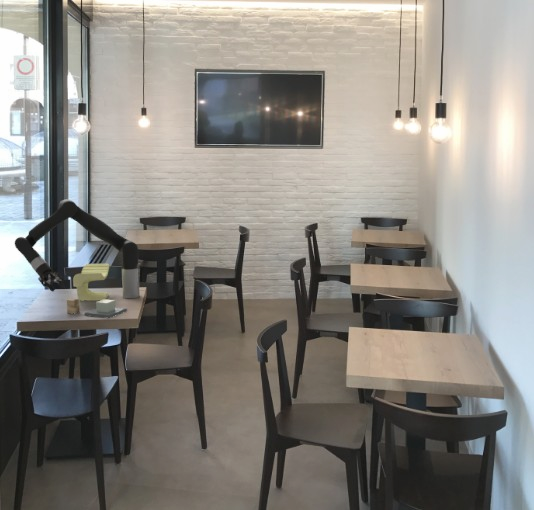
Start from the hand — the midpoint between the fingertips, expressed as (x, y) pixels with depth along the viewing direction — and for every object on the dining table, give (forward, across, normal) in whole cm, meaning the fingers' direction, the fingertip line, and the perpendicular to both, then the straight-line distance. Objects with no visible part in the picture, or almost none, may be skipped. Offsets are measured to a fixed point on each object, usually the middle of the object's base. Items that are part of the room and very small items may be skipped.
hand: (59, 289), depth 388 cm
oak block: (+15, 0, +3) cm, 15 cm away
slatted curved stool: (+7, +32, +11) cm, 35 cm away
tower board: (+27, +6, -9) cm, 29 cm away
